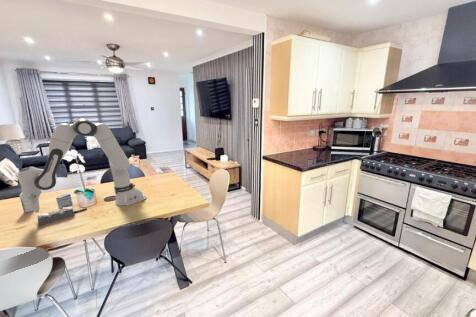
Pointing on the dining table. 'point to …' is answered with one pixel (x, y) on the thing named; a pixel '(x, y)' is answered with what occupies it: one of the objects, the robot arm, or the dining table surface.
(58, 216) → the power strip
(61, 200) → the medicine box
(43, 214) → the rocker
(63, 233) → the dining table surface
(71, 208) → the rocker
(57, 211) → the rocker
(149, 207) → the dining table surface
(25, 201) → the syrup box
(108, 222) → the dining table surface
